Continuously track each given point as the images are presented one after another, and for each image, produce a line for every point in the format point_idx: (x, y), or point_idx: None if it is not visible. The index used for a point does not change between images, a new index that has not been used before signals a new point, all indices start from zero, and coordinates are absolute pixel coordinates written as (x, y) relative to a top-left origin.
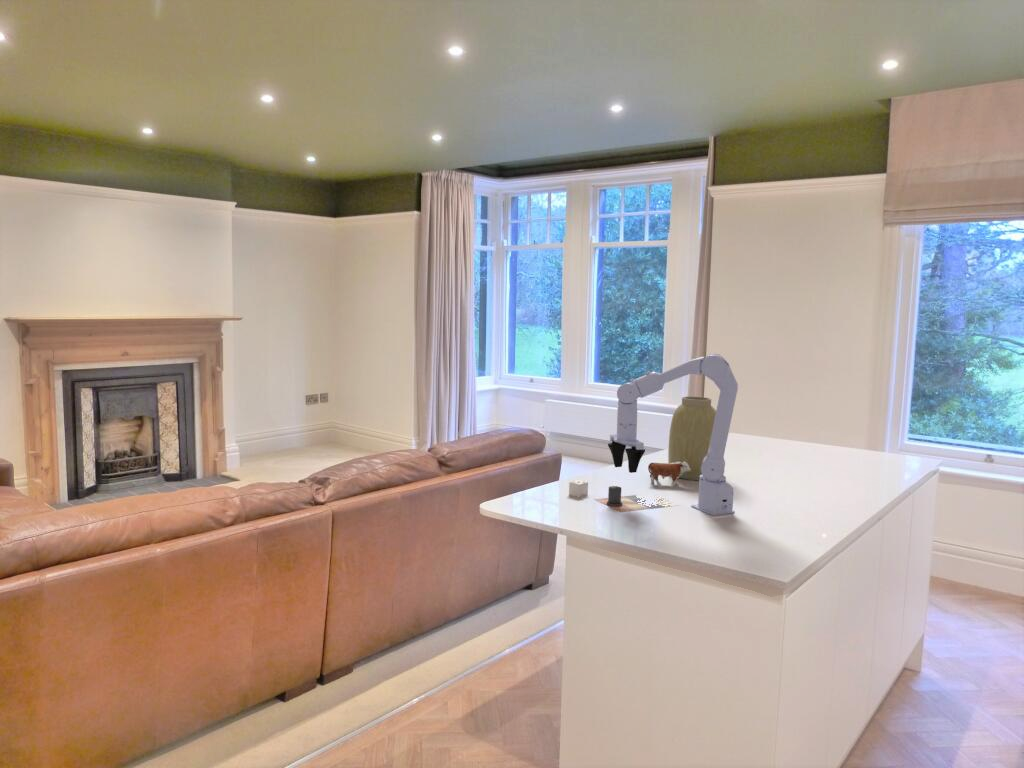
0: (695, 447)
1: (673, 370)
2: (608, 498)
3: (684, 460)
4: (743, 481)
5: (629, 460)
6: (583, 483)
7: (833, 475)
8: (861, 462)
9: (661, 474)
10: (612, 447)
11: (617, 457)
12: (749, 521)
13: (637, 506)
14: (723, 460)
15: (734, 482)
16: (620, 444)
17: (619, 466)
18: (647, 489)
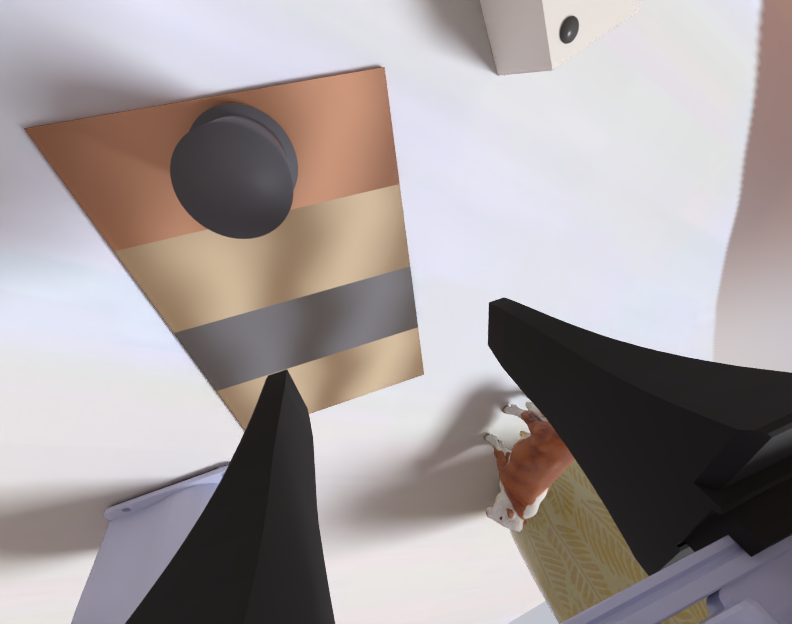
0: (568, 578)
1: None
2: (239, 117)
3: (560, 511)
4: (468, 536)
5: (235, 484)
6: (542, 5)
7: (455, 604)
8: (499, 610)
9: (526, 440)
10: (687, 416)
11: (548, 368)
12: (56, 574)
13: (213, 283)
14: None
15: (467, 526)
16: (671, 525)
17: (490, 332)
18: (482, 372)
